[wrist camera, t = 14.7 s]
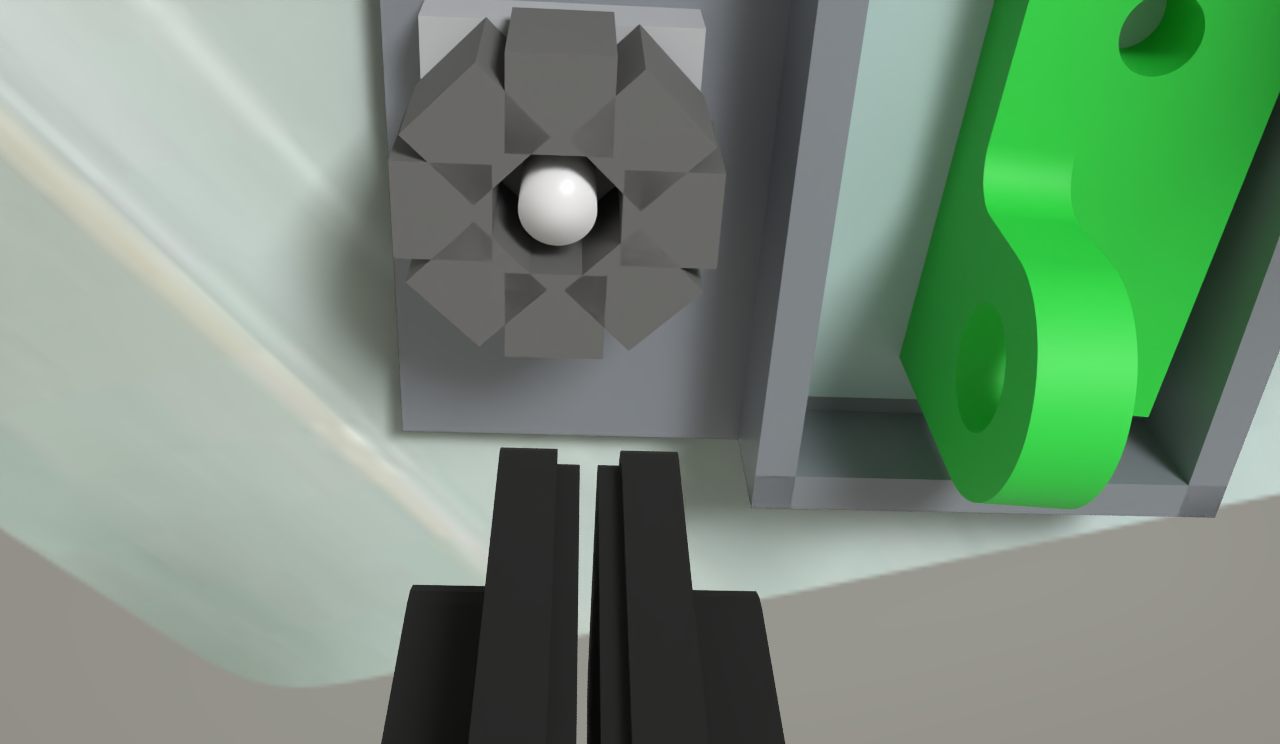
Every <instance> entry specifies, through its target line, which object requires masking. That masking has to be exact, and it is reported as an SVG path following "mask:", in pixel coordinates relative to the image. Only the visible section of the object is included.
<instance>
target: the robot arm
mask: <svg viewBox="0 0 1280 744" xmlns="http://www.w3.org/2000/svg"><path fill="white" fill-rule="evenodd" d="M557 452H558V450H557V449H538V448H501V449H500V454H499V463H498V473H497V482H496V491H495V500H494V510H493V519H492V528H491V538H490V547H489V556H488V565H487V575H486V584H485V586H446V585H413V586H412V588H411V590H410V593H409V598H408V602H407V607H406V612H405V618H404V623H403V629H402V634H401V639H400V645H399V650H398V656H397V661H396V667H395V672H394V677H393V683H392V689H391V694H390V700H389V705H388V711H387V715H386V721H385V726H384V732H383V738H382V743H381V744H576V723H577V722H576V720H577V719H576V718H577V641H578V562H579V481H580V465H568V464H557ZM587 691H588V692H587V744H785V740H784V734H783V728H782V723H781V717H780V711H779V705H778V700H777V693H776V688H775V682H774V676H773V670H772V664H771V659H770V653H769V647H768V641H767V635H766V629H765V624H764V618H763V613H762V607H761V603H760V599H759V596H758V594H757V593H756V591H709V590H692V581H691V571H690V562H689V552H688V542H687V533H686V523H685V514H684V504H683V495H682V485H681V475H680V466H679V458H678V453H677V452H654V451H621V452H620V459H619V466H608V465H598V470H597V488H596V510H595V531H594V553H593V574H592V596H591V617H590V638H589V660H588V689H587Z"/></svg>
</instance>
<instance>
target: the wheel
mask: <svg viewBox="0 0 1280 744" xmlns="http://www.w3.org/2000/svg"><path fill="white" fill-rule="evenodd" d="M531 154H535V155H560V156H586V157H588V158H589V160H590V161H591V162H592V163H593V164H594V165H595V166H596V167H597V168H598V169H599V170H600V171H601V172H602V173H603V174H604V175H605V176H606V177H607V178H608V179H609V180H610V181H611V182H612V183H613V184H614V185H615V187H614V188H613V189H612V190H610V191H609V192H608V193H607V194H606V195H605V196H603V197H602V198H601V199H600V200H599V201H598V202H597V217H596V221H595V223H594V225H593V227H592V229H591V230H590V231H589V233H588V234H587V235H586V236H584V237H583V238H582V239H580V240H579V241H577V242H574V243H572V244H568V245H562V246H555V245H548V244H545V243H542V242H540V241H538V240H536V239H535V238H533V237H532V236H531V235H529V234H528V232H527V231H526V230H525V229H524V227H523V226H522V224H521V221H520V219H519V214H518V202H519V197H518V196H517V195H515V194H514V193H513V192H512V191H511V190H510V189H509V188H508V187H507V186H506V185H505V184H504V183H503V182H502V180H503V179H504V178H505V177H506V176H507V175H508V174H510V173H511V172H512V171H513V170H514V169H515V168H516V167H517V166H519V165H520V164H521V163H522V162H523V161H524V160H525V159H526V158H528V157H529V156H530V155H531ZM388 172H389V190H390V209H391V228H392V246H393V258H401V259H411V263H410V267H409V271H408V275H407V278H406V283H407V284H408V285H409V286H410V287H411V288H413V289H414V290H415V291H416V292H417V293H418V294H419V295H421V296H422V297H423V298H424V299H425V300H426V301H427V302H429V303H430V304H431V305H432V306H433V307H434V308H435V309H437V310H438V311H439V312H440V313H441V314H442V315H443V316H445V317H446V318H447V319H448V320H449V321H450V322H451V323H453V324H454V325H455V326H456V327H457V328H458V329H459V330H461V331H462V332H463V333H464V334H465V335H466V336H467V337H469V338H470V339H471V340H472V341H473V342H474V343H475V344H477V345H478V346H481V345H482V344H483V343H484V342H485V341H486V340H488V339H489V338H490V337H491V336H492V335H494V334H495V333H496V332H497V331H498V330H500V329H501V328H502V327H503V326H504V325H505V356H506V357H540V358H575V359H603V348H604V328H605V329H606V330H607V331H608V332H609V333H610V334H611V335H612V336H613V337H614V338H615V339H616V340H617V341H618V342H620V343H621V344H622V345H623V346H624V347H625V348H626V349H627V350H628V351H629V350H631V349H632V348H633V347H634V346H636V345H637V344H638V343H640V342H641V341H642V340H643V339H645V338H646V337H647V336H648V335H650V334H651V333H652V332H653V331H655V330H656V329H657V328H659V327H660V326H661V325H662V324H664V323H665V322H666V321H667V320H669V319H670V318H671V317H672V316H674V315H675V314H676V313H678V312H679V311H680V310H681V309H683V308H684V307H685V306H686V305H688V304H689V303H690V302H691V301H693V300H694V299H695V298H697V297H698V296H699V295H700V294H702V293H703V286H702V280H701V275H700V269H717V260H718V251H719V241H720V231H721V221H722V211H723V201H724V191H725V181H726V171H725V167H724V163H723V159H722V155H721V152H720V148H719V144H718V140H717V136H716V132H715V128H714V124H713V120H710V116H709V112H708V108H707V104H706V100H705V96H704V95H703V94H702V93H701V92H700V90H699V89H698V88H697V87H696V86H695V85H694V84H693V83H692V82H691V80H690V79H689V78H688V77H687V76H686V75H685V74H684V73H683V72H682V70H681V69H680V68H679V67H678V66H677V65H676V64H675V63H674V62H673V60H672V59H671V58H670V57H669V56H668V55H667V54H666V53H665V52H664V50H663V49H662V48H661V47H660V46H659V45H658V44H657V43H656V42H655V40H654V39H653V38H652V37H651V36H650V35H649V34H648V33H647V32H646V30H645V29H644V28H643V27H642V26H641V25H640V24H639V25H638V26H637V27H636V28H635V29H633V30H632V31H631V32H630V33H629V34H628V35H627V36H626V37H625V38H624V39H622V40H621V41H620V42H619V43H618V44H617V40H616V28H615V15H614V12H606V11H584V10H563V9H542V8H521V7H512V12H511V18H510V24H509V29H508V35H507V38H506V37H505V36H504V35H503V34H502V33H501V32H500V31H499V30H498V29H497V28H496V26H495V25H494V24H493V23H492V22H491V21H490V20H489V19H488V18H487V17H485V18H484V19H483V20H482V21H481V22H480V23H479V24H478V25H477V26H476V27H475V28H474V29H473V30H472V31H471V32H470V33H469V34H468V35H467V36H466V37H465V38H463V39H462V40H461V41H460V42H459V43H458V44H457V45H456V46H455V47H454V48H453V49H452V50H451V51H450V52H449V53H448V54H447V55H446V56H445V57H444V58H443V59H442V60H440V61H439V62H438V63H437V64H436V65H435V66H434V67H433V68H432V69H431V70H430V71H429V72H428V73H427V74H426V75H425V76H424V77H423V78H422V79H421V80H420V81H419V82H418V83H416V86H415V89H414V92H413V95H412V97H411V100H410V103H409V106H408V108H406V111H405V114H404V117H403V120H402V123H401V125H400V128H399V131H398V134H397V137H396V140H395V142H394V145H393V148H392V151H391V154H390V156H389V159H388Z"/></svg>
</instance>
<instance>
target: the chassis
mask: <svg viewBox="0 0 1280 744" xmlns="http://www.w3.org/2000/svg"><path fill="white" fill-rule="evenodd" d="M1166 3H1167V0H1144V1H1142V2H1141V3H1140V4H1138V5H1137V6H1136V7H1135V8H1134V9H1133V10H1132V11H1131V13H1130V14H1129V15H1128V17H1127V18H1126V20H1125V22H1124V23H1123V26H1122V28H1121V31H1120V35H1119V48H1126V47H1130V46H1133V45H1135V44H1137V43H1139V42H1141V41H1143V40H1144V39H1145V38H1147V37H1148V36H1149V35H1150V34H1151V33H1152V32H1153V31H1154V30H1155V29H1156V28H1157V26H1158V25H1159V23H1160V21H1161V20H1162V17H1163V15H1164V12H1165V9H1166ZM993 4H994V0H380V12H381V31H382V50H383V68H384V87H385V106H386V125H387V144H388V159H389V156H390V154H391V151H392V148H393V145H394V142H395V140H396V137H397V134H398V131H399V128H400V125H401V123H402V120H403V117H404V114H405V111H406V108H408V106H409V103H410V100H411V97H412V95H413V92H414V89H415V86H416V83H418V82H419V81H420V80H421V79H422V78H423V77H424V76H425V75H426V74H427V73H428V72H429V71H430V70H431V69H432V68H433V67H434V66H435V65H436V64H437V63H438V62H439V61H440V60H442V59H443V58H444V57H445V56H446V55H447V54H448V53H449V52H450V51H451V50H452V49H453V48H454V47H455V46H456V45H457V44H458V43H459V42H460V41H461V40H462V39H463V38H465V37H466V36H467V35H468V34H469V33H470V32H471V31H472V30H473V29H474V28H475V27H476V26H477V25H478V24H479V23H480V22H481V21H482V20H483V19H484V18H485V17H487V18H488V19H489V20H490V21H491V22H492V23H493V24H494V25H495V26H496V28H497V29H498V30H499V31H500V32H501V33H502V34H503V35H504V36H505V37H506V38H507V35H508V29H509V24H510V18H511V12H512V7H521V8H542V9H563V10H584V11H606V12H614V15H615V28H616V40H617V44H618V43H619V42H620V41H621V40H622V39H624V38H625V37H626V36H627V35H628V34H629V33H630V32H631V31H632V30H633V29H635V28H636V27H637V26H638V25H639V24H640V25H641V26H642V27H643V28H644V29H645V30H646V32H647V33H648V34H649V35H650V36H651V37H652V38H653V39H654V40H655V42H656V43H657V44H658V45H659V46H660V47H661V48H662V49H663V50H664V52H665V53H666V54H667V55H668V56H669V57H670V58H671V59H672V60H673V62H674V63H675V64H676V65H677V66H678V67H679V68H680V69H681V70H682V72H683V73H684V74H685V75H686V76H687V77H688V78H689V79H690V80H691V82H692V83H693V84H694V85H695V86H696V87H697V88H698V89H699V90H700V92H701V93H702V94H703V95H704V96H705V100H706V104H707V108H708V112H709V116H710V120H713V124H714V128H715V132H716V136H717V140H718V144H719V148H720V152H721V155H722V159H723V163H724V167H725V171H726V181H725V191H724V201H723V211H722V221H721V231H720V241H719V251H718V260H717V269H700V275H701V280H702V286H703V293H702V294H700V295H699V296H698V297H697V298H695V299H694V300H693V301H691V302H690V303H689V304H688V305H686V306H685V307H684V308H683V309H681V310H680V311H679V312H678V313H676V314H675V315H674V316H672V317H671V318H670V319H669V320H667V321H666V322H665V323H664V324H662V325H661V326H660V327H659V328H657V329H656V330H655V331H653V332H652V333H651V334H650V335H648V336H647V337H646V338H645V339H643V340H642V341H641V342H640V343H638V344H637V345H636V346H634V347H633V348H632V349H631V350H629V351H628V350H627V349H626V348H625V347H624V346H623V345H622V344H621V343H620V342H618V341H617V340H616V339H615V338H614V337H613V336H612V335H611V334H610V333H609V332H608V331H607V330H606V329H605V328H604V348H603V359H575V358H540V357H506V356H505V325H504V326H503V327H502V328H501V329H500V330H498V331H497V332H496V333H495V334H494V335H492V336H491V337H490V338H489V339H488V340H486V341H485V342H484V343H483V344H482V345H481V346H478V345H477V344H475V343H474V342H473V341H472V340H471V339H470V338H469V337H467V336H466V335H465V334H464V333H463V332H462V331H461V330H459V329H458V328H457V327H456V326H455V325H454V324H453V323H451V322H450V321H449V320H448V319H447V318H446V317H445V316H443V315H442V314H441V313H440V312H439V311H438V310H437V309H435V308H434V307H433V306H432V305H431V304H430V303H429V302H427V301H426V300H425V299H424V298H423V297H422V296H421V295H419V294H418V293H417V292H416V291H415V290H414V289H413V288H411V287H410V286H409V285H408V284H407V283H406V278H407V275H408V271H409V267H410V263H411V259H401V258H394V275H395V294H396V313H397V331H398V350H399V369H400V388H401V406H402V425H403V431H432V432H472V433H513V434H553V435H594V436H634V437H675V438H715V439H738V441H739V446H740V452H741V457H742V462H743V468H744V473H745V478H746V483H747V489H748V494H749V499H750V505H751V508H784V509H831V510H879V511H926V512H974V513H1021V514H1068V515H1116V516H1163V517H1212V518H1214V517H1215V516H1216V513H1217V511H1218V508H1219V506H1220V503H1221V501H1222V498H1223V495H1224V493H1225V490H1226V488H1227V485H1228V482H1229V480H1230V477H1231V475H1232V472H1233V469H1234V467H1235V464H1236V462H1237V459H1238V457H1239V454H1240V451H1241V449H1242V446H1243V444H1244V441H1245V438H1246V436H1247V433H1248V431H1249V428H1250V425H1251V423H1252V420H1253V418H1254V415H1255V413H1256V410H1257V407H1258V405H1259V402H1260V400H1261V397H1262V394H1263V392H1264V389H1265V387H1266V384H1267V381H1268V379H1269V376H1270V374H1271V371H1272V369H1273V366H1274V363H1275V361H1276V358H1277V356H1278V353H1279V350H1280V92H1279V95H1278V97H1277V100H1276V102H1275V105H1274V107H1273V110H1272V112H1271V115H1270V117H1269V120H1268V122H1267V125H1266V127H1265V129H1264V132H1263V134H1262V137H1261V139H1260V142H1259V144H1258V147H1257V149H1256V152H1255V154H1254V157H1253V159H1252V162H1251V164H1250V167H1249V169H1248V172H1247V174H1246V177H1245V179H1244V182H1243V184H1242V186H1241V189H1240V191H1239V194H1238V196H1237V199H1236V201H1235V204H1234V206H1233V209H1232V211H1231V214H1230V216H1229V219H1228V221H1227V224H1226V226H1225V229H1224V231H1223V234H1222V236H1221V239H1220V241H1219V243H1218V246H1217V248H1216V251H1215V253H1214V256H1213V258H1212V261H1211V263H1210V266H1209V268H1208V271H1207V273H1206V276H1205V278H1204V281H1203V283H1202V286H1201V288H1200V291H1199V293H1198V295H1197V298H1196V300H1195V303H1194V305H1193V308H1192V310H1191V313H1190V315H1189V318H1188V320H1187V323H1186V325H1185V328H1184V330H1183V333H1182V335H1181V338H1180V340H1179V343H1178V345H1177V348H1176V350H1175V352H1174V355H1173V357H1172V360H1171V362H1170V365H1169V367H1168V370H1167V372H1166V375H1165V377H1164V380H1163V382H1162V385H1161V387H1160V390H1159V392H1158V395H1157V397H1156V400H1155V402H1154V405H1153V407H1152V409H1151V412H1150V414H1149V417H1141V416H1133V417H1132V421H1131V426H1130V430H1129V434H1128V437H1127V441H1126V444H1125V447H1124V450H1123V453H1122V456H1121V458H1120V461H1119V463H1118V465H1117V467H1116V469H1115V471H1114V473H1113V475H1112V476H1111V478H1110V480H1109V481H1108V483H1107V484H1106V486H1105V487H1104V488H1103V490H1102V491H1101V492H1100V493H1099V494H1098V495H1097V496H1096V497H1095V498H1094V499H1093V500H1092V501H1091V502H1089V503H1088V504H1086V505H1085V506H1082V507H1080V508H1077V509H1069V510H1067V509H1052V508H1038V507H1024V506H1010V505H996V504H982V503H974V502H970V501H969V500H967V499H965V498H964V497H963V496H962V495H961V494H960V493H959V491H958V490H957V489H956V487H955V485H954V484H953V482H952V480H951V478H950V475H949V473H948V471H947V468H946V466H945V464H944V461H943V459H942V457H941V454H940V452H939V450H938V447H937V445H936V443H935V440H934V438H933V435H932V433H931V431H930V428H929V426H928V424H927V421H926V419H925V417H924V414H923V412H922V410H921V407H920V405H919V403H918V400H917V398H916V396H915V393H914V391H913V389H912V386H911V384H910V382H909V379H908V377H907V374H906V372H905V370H904V367H903V365H902V363H901V360H900V358H899V356H900V352H901V348H902V345H903V341H904V337H905V333H906V330H907V326H908V322H909V319H910V315H911V311H912V307H913V304H914V300H915V296H916V292H917V289H918V285H919V281H920V277H921V274H922V270H923V266H924V262H925V259H926V255H927V251H928V247H929V244H930V240H931V236H932V232H933V229H934V225H935V221H936V217H937V214H938V210H939V206H940V202H941V199H942V195H943V191H944V188H945V184H946V180H947V176H948V173H949V169H950V165H951V161H952V158H953V154H954V150H955V146H956V143H957V139H958V135H959V131H960V128H961V124H962V120H963V116H964V113H965V109H966V105H967V101H968V98H969V94H970V90H971V86H972V83H973V79H974V75H975V71H976V68H977V64H978V60H979V57H980V53H981V49H982V45H983V42H984V38H985V34H986V30H987V27H988V23H989V19H990V15H991V12H992V8H993ZM502 182H503V183H504V184H505V185H506V186H507V187H508V188H509V189H510V190H511V191H512V192H513V193H514V194H515V195H517V196H518V197H519V202H518V214H519V219H520V221H521V224H522V226H523V227H524V229H525V230H526V231H527V232H528V234H529V235H531V236H532V237H533V238H535V239H536V240H538V241H540V242H542V243H545V244H548V245H555V246H562V245H568V244H572V243H574V242H577V241H579V240H580V239H582V238H583V237H584V236H586V235H587V234H588V233H589V231H590V230H591V229H592V227H593V225H594V223H595V221H596V217H597V202H598V201H599V200H600V199H601V198H602V197H603V196H605V195H606V194H607V193H608V192H609V191H610V190H612V189H613V188H614V187H615V185H614V184H613V183H612V182H611V181H610V180H609V179H608V178H607V177H606V176H605V175H604V174H603V173H602V172H601V171H600V170H599V169H598V168H597V167H596V166H595V165H594V164H593V163H592V162H591V161H590V160H589V158H588V157H586V156H560V155H535V154H531V155H530V156H529V157H528V158H526V159H525V160H524V161H523V162H522V163H521V164H520V165H519V166H517V167H516V168H515V169H514V170H513V171H512V172H511V173H510V174H508V175H507V176H506V177H505V178H504V179H503V180H502Z"/></svg>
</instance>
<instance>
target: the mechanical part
mask: <svg viewBox="0 0 1280 744" xmlns="http://www.w3.org/2000/svg"><path fill="white" fill-rule="evenodd" d="M1142 1H1144V0H994V4H993V8H992V12H991V15H990V19H989V23H988V27H987V30H986V34H985V38H984V42H983V45H982V49H981V53H980V57H979V60H978V64H977V68H976V71H975V75H974V79H973V83H972V86H971V90H970V94H969V98H968V101H967V105H966V109H965V113H964V116H963V120H962V124H961V128H960V131H959V135H958V139H957V143H956V146H955V150H954V154H953V158H952V161H951V165H950V169H949V173H948V176H947V180H946V184H945V188H944V191H943V195H942V199H941V202H940V206H939V210H938V214H937V217H936V221H935V225H934V229H933V232H932V236H931V240H930V244H929V247H928V251H927V255H926V259H925V262H924V266H923V270H922V274H921V277H920V281H919V285H918V289H917V292H916V296H915V300H914V304H913V307H912V311H911V315H910V319H909V322H908V326H907V330H906V333H905V337H904V341H903V345H902V348H901V352H900V356H899V358H900V360H901V363H902V365H903V367H904V370H905V372H906V374H907V377H908V379H909V382H910V384H911V386H912V389H913V391H914V393H915V396H916V398H917V400H918V403H919V405H920V407H921V410H922V412H923V414H924V417H925V419H926V421H927V424H928V426H929V428H930V431H931V433H932V435H933V438H934V440H935V443H936V445H937V447H938V450H939V452H940V454H941V457H942V459H943V461H944V464H945V466H946V468H947V471H948V473H949V475H950V478H951V480H952V482H953V484H954V485H955V487H956V489H957V490H958V491H959V493H960V494H961V495H962V496H963V497H964V498H965V499H967V500H969V501H970V502H974V503H982V504H996V505H1010V506H1024V507H1038V508H1052V509H1067V510H1069V509H1077V508H1080V507H1082V506H1085V505H1086V504H1088V503H1089V502H1091V501H1092V500H1093V499H1094V498H1095V497H1096V496H1097V495H1098V494H1099V493H1100V492H1101V491H1102V490H1103V488H1104V487H1105V486H1106V484H1107V483H1108V481H1109V480H1110V478H1111V476H1112V475H1113V473H1114V471H1115V469H1116V467H1117V465H1118V463H1119V461H1120V458H1121V456H1122V453H1123V450H1124V447H1125V444H1126V441H1127V437H1128V434H1129V430H1130V426H1131V421H1132V417H1133V416H1141V417H1149V414H1150V412H1151V409H1152V407H1153V405H1154V402H1155V400H1156V397H1157V395H1158V392H1159V390H1160V387H1161V385H1162V382H1163V380H1164V377H1165V375H1166V372H1167V370H1168V367H1169V365H1170V362H1171V360H1172V357H1173V355H1174V352H1175V350H1176V348H1177V345H1178V343H1179V340H1180V338H1181V335H1182V333H1183V330H1184V328H1185V325H1186V323H1187V320H1188V318H1189V315H1190V313H1191V310H1192V308H1193V305H1194V303H1195V300H1196V298H1197V295H1198V293H1199V291H1200V288H1201V286H1202V283H1203V281H1204V278H1205V276H1206V273H1207V271H1208V268H1209V266H1210V263H1211V261H1212V258H1213V256H1214V253H1215V251H1216V248H1217V246H1218V243H1219V241H1220V239H1221V236H1222V234H1223V231H1224V229H1225V226H1226V224H1227V221H1228V219H1229V216H1230V214H1231V211H1232V209H1233V206H1234V204H1235V201H1236V199H1237V196H1238V194H1239V191H1240V189H1241V186H1242V184H1243V182H1244V179H1245V177H1246V174H1247V172H1248V169H1249V167H1250V164H1251V162H1252V159H1253V157H1254V154H1255V152H1256V149H1257V147H1258V144H1259V142H1260V139H1261V137H1262V134H1263V132H1264V129H1265V127H1266V125H1267V122H1268V120H1269V117H1270V115H1271V112H1272V110H1273V107H1274V105H1275V102H1276V100H1277V97H1278V95H1279V92H1280V0H1167V3H1166V9H1165V12H1164V15H1163V17H1162V20H1161V21H1160V23H1159V25H1158V26H1157V28H1156V29H1155V30H1154V31H1153V32H1152V33H1151V34H1150V35H1149V36H1148V37H1147V38H1145V39H1144V40H1143V41H1141V42H1139V43H1137V44H1135V45H1133V46H1130V47H1126V48H1119V35H1120V31H1121V28H1122V26H1123V23H1124V22H1125V20H1126V18H1127V17H1128V15H1129V14H1130V13H1131V11H1132V10H1133V9H1134V8H1135V7H1136V6H1137V5H1138V4H1140V3H1141V2H1142Z"/></svg>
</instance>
